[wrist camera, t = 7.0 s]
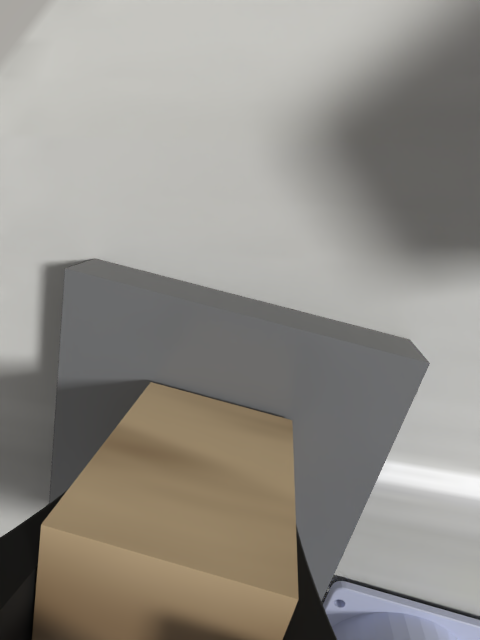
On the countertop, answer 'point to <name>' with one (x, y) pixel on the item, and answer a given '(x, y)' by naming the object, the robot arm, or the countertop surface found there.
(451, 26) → the countertop surface
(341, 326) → the plate
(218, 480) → the oak block
